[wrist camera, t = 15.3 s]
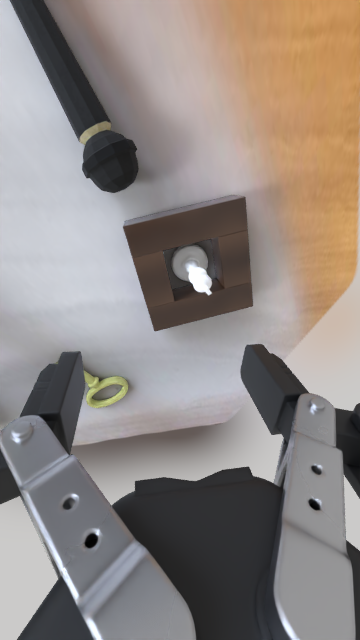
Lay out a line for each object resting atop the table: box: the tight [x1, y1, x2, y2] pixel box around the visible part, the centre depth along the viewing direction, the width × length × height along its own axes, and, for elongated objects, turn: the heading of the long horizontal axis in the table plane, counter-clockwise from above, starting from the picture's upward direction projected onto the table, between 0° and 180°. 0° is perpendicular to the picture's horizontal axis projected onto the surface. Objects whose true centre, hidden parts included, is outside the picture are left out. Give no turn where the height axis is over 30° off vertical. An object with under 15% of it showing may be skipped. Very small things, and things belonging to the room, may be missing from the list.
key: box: [55, 362, 128, 408], centre depth 40 cm, size 7×12×2 cm, turn 51°
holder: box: [123, 195, 253, 331], centre depth 33 cm, size 14×14×4 cm
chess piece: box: [171, 244, 212, 296], centre depth 30 cm, size 5×5×10 cm
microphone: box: [10, 0, 138, 193], centre depth 23 cm, size 6×6×20 cm
